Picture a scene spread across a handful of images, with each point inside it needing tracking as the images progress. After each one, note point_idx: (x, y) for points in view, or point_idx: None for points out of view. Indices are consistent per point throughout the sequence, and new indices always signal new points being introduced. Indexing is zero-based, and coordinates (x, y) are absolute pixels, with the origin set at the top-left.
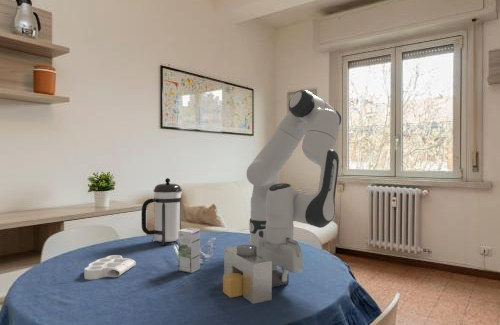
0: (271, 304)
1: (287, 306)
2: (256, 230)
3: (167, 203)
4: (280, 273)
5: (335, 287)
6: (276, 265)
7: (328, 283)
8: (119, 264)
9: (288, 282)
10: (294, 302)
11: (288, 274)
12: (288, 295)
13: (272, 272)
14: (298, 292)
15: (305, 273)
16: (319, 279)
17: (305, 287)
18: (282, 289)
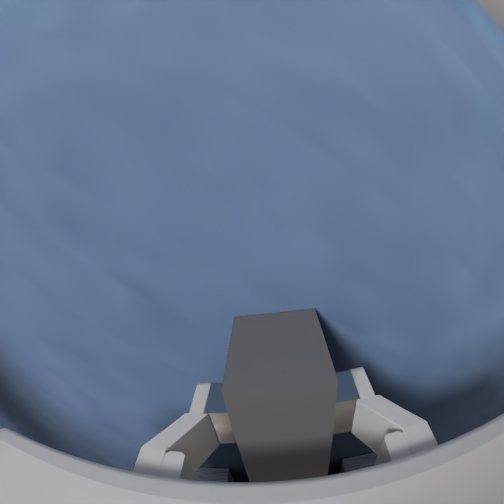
0: (449, 437)
1: (494, 395)
2: None
3: None
4: (330, 439)
5: (479, 40)
6: (175, 445)
7: (416, 14)
8: None
9: (315, 313)
10: (498, 366)
11: (330, 357)
12: (449, 372)
13: (288, 475)
14: (460, 310)
15: (135, 41)
16: (320, 5)
17: (432, 220)
18: (376, 378)
